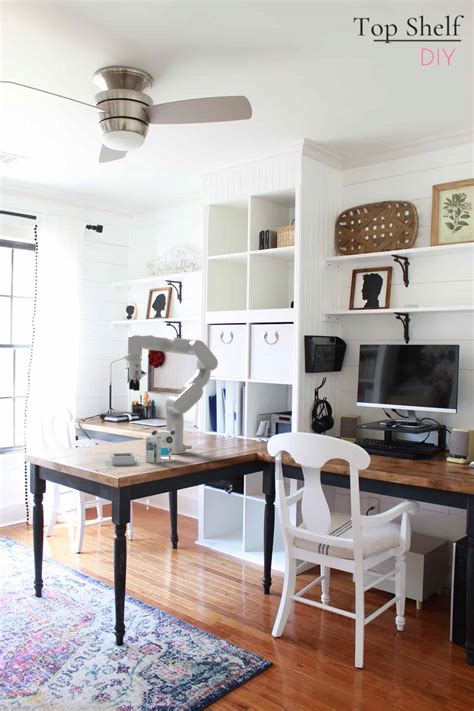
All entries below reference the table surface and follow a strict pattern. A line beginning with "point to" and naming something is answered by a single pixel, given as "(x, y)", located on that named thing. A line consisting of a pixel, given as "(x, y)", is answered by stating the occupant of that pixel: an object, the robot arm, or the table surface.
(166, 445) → the panda figurine
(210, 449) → the table surface
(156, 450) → the syrup box
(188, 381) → the robot arm
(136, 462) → the deck plate
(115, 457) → the chute collar
